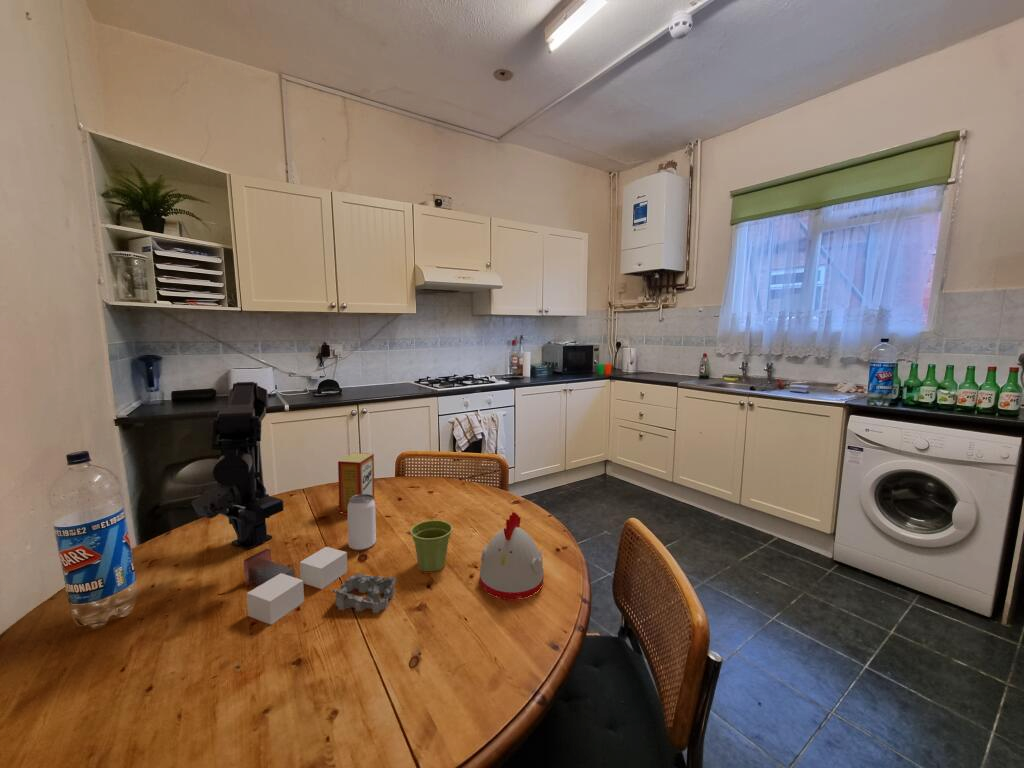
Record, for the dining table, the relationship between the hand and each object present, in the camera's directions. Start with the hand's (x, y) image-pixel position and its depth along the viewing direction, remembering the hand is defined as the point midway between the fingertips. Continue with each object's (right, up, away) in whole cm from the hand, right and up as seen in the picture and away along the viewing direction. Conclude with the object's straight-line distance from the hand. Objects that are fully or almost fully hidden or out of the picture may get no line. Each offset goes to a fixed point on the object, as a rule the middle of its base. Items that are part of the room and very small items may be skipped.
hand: (243, 539), depth 88 cm
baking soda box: (+11, -4, +36) cm, 38 cm away
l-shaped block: (+8, -8, -3) cm, 12 cm away
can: (+21, -7, +14) cm, 26 cm away
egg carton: (+29, -9, -8) cm, 32 cm away
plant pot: (+40, -8, +5) cm, 41 cm away
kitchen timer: (+58, -9, 0) cm, 59 cm away
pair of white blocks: (+16, -8, -6) cm, 19 cm away
